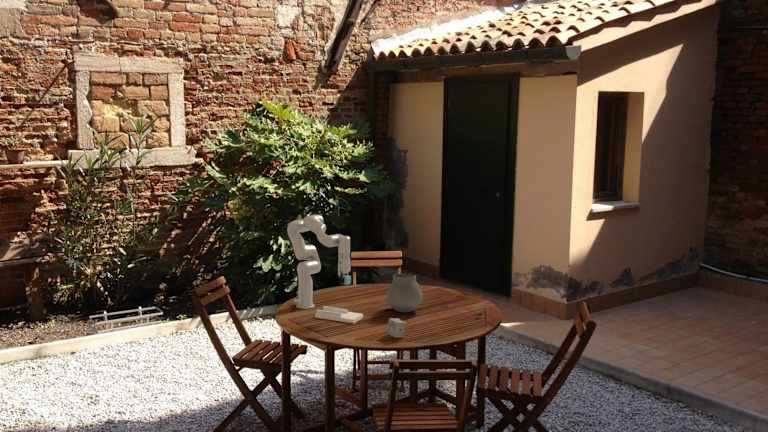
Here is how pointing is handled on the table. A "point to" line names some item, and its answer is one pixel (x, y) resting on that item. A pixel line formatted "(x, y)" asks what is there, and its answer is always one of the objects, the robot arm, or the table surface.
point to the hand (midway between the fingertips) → (343, 282)
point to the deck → (338, 315)
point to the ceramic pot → (404, 293)
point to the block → (347, 279)
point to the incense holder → (396, 328)
